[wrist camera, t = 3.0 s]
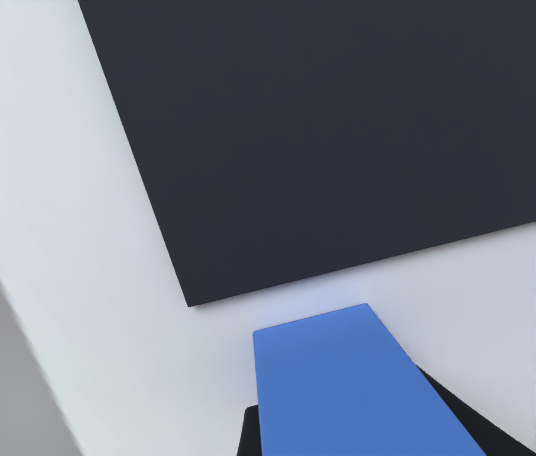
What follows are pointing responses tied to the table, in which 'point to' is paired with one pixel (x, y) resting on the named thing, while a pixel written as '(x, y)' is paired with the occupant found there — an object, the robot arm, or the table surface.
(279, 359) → the blue block
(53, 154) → the table surface
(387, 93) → the desk mat
